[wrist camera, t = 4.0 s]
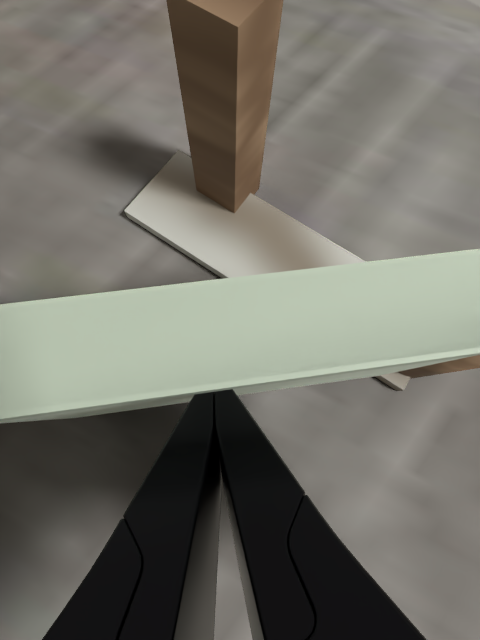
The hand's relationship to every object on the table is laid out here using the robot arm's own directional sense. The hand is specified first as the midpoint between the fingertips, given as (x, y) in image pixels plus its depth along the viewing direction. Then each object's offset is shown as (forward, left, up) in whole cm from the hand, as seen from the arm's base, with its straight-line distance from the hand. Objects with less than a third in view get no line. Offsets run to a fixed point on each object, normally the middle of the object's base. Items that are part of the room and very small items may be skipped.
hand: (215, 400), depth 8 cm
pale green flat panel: (+1, 0, -6) cm, 6 cm away
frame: (+8, +1, -7) cm, 10 cm away
